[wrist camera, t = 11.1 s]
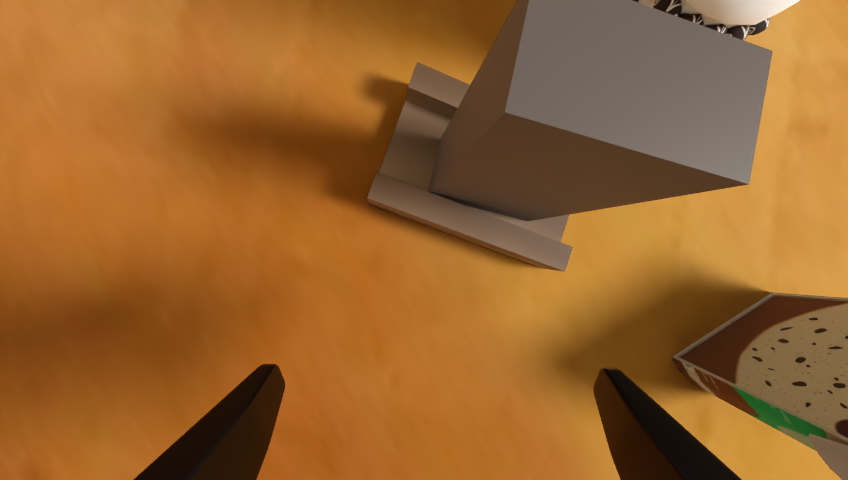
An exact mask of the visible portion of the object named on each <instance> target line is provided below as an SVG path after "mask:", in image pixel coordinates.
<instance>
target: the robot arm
mask: <svg viewBox="0 0 848 480" xmlns="http://www.w3.org/2000/svg"><path fill="white" fill-rule="evenodd" d="M284 390H285V381H284V378H283V376H282V374H281V371H280V369H279V367H278V365H276V364H263V365H261V366H259V367H258V368H257V369H256V370H255V371H254V372H252V373H251V374H250V375H249V376H248V377H247V378H246V379H245V380H244V381H242V382H241V383H240V384H239V385H238V386H237V387H236V388H235V389H234V390H232V391H231V392H230V393H229V394H228V395H227V396H226V397H225V398H224V399H222V400H221V401H220V402H219V403H218V404H217V405H216V406H215V407H214V408H212V409H211V410H210V411H209V412H208V413H207V414H206V415H205V416H204V417H202V418H201V419H200V420H199V421H198V422H197V423H196V424H195V425H194V426H193V427H191V428H190V429H189V430H188V431H187V432H186V433H185V434H184V435H183V436H181V437H180V438H179V439H178V440H177V441H176V442H175V443H174V444H173V445H171V446H170V447H169V448H168V449H167V450H166V451H165V452H164V453H163V454H161V455H160V456H159V457H158V458H157V459H156V460H155V461H154V462H153V463H151V464H150V465H149V466H148V467H147V468H146V469H145V470H144V471H143V472H141V473H140V474H139V475H138V476H137V477H136V478H135V479H134V480H256V479H257V476H258V474H259V471H260V468H261V466H262V463H263V461H264V458H265V455H266V452H267V450H268V447H269V444H270V440H271V437H272V434H273V430H274V426H275V423H276V419H277V415H278V412H279V408H280V404H281V401H282V397H283V393H284ZM594 396H595V399H596V403H597V406H598V410H599V414H600V417H601V421H602V424H603V428H604V431H605V435H606V439H607V442H608V446H609V449H610V452H611V455H612V458H613V461H614V463H615V466H616V469H617V471H618V474H619V476H620V479H621V480H741V479H740V478H739V477H738V476H737V475H736V474H735V473H734V472H733V471H731V470H730V469H729V468H728V467H727V466H726V465H725V464H724V463H723V462H722V461H720V460H719V459H718V458H717V457H716V456H715V455H714V454H713V453H712V452H710V451H709V450H708V449H707V448H706V447H705V446H704V445H703V444H702V443H700V442H699V441H698V440H697V439H696V438H695V437H694V436H693V435H692V434H691V433H689V432H688V431H687V430H686V429H685V428H684V427H683V426H682V425H681V424H679V423H678V422H677V421H676V420H675V419H674V418H673V417H672V416H671V415H670V414H668V413H667V412H666V411H665V410H664V409H663V408H662V407H661V406H660V405H658V404H657V403H656V402H655V401H654V400H653V399H652V398H651V397H650V396H648V395H647V394H646V393H645V392H644V391H643V390H642V389H641V388H640V387H639V386H637V385H636V384H635V383H634V382H633V381H632V380H631V379H630V378H629V377H627V376H626V375H625V374H624V373H623V372H622V371H621V370H619V369H617V368H602V369H600V371H599V374H598V376H597V379H596V381H595V384H594Z"/></svg>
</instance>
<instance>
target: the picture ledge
mask: <svg viewBox="0 0 848 480" xmlns="http://www.w3.org/2000/svg"><path fill="white" fill-rule="evenodd" d="M469 86H470V85H469V84H467V83H464V82H462V81H460V80H457V79H455V78H453V77H450V76H448V75H446V74H444V73H441V72H439V71H437V70H434V69H432V68H430V67H427V66H425V65H423V64H421V63H418V62H417V64H416V67H415V70H414V72H413V75H412V78H411V80H410V83H409V86H408V90H407V96H406V101H405V103H404V106H403V109H402V111H401V114H400V117H399V119H398V122H397V125H396V128H395V130H394V133H393V136H392V138H391V141H390V144H389V146H388V149H387V152H386V155H385V157H384V160H383V163H382V165H381V168H380V171H379V172H376V175H375V177H374V180H373V183H372V186H371V188H370V191H369V194H368V196H367V200H368V203H369V204H370V205H373V206H376V207H378V208H381V209H384V210H387V211H389V212H392V213H395V214H397V215H400V216H403V217H405V218H408V219H411V220H414V221H416V222H419V223H422V224H424V225H427V226H430V227H432V228H435V229H438V230H441V231H443V232H446V233H449V234H451V235H454V236H457V237H459V238H462V239H465V240H468V241H470V242H473V243H476V244H478V245H481V246H484V247H486V248H489V249H492V250H495V251H497V252H500V253H503V254H505V255H508V256H511V257H513V258H516V259H519V260H522V261H524V262H527V263H530V264H532V265H535V266H538V267H540V268H543V269H551V270H558V271H565V269H566V266H567V263H568V260H569V257H570V254H571V251H572V248H573V247H571V246H569V245H566V244H563V243H561V242H560V241H561V238H562V235H563V232H564V229H565V226H566V223H567V219H568V216H569V215H563V216H557V217H551V218H545V219H539V220H533V221H525V220H521V219H517V218H513V217H509V216H505V215H501V214H497V213H493V212H489V211H485V210H481V209H477V208H473V207H469V206H465V205H462V204H459V203H457V202H454V201H452V200H449V199H446V198H444V197H441V196H439V195H436V194H433V193H431V192H428V190H429V186H430V181H431V177H432V172H433V168H434V164H435V159H436V155H437V150H438V146H439V142H440V139H441V137H442V135H443V133H444V131H445V130H446V128H447V126H448V124H449V122H450V121H451V119H452V117H453V115H454V113H455V112H456V110H457V108H458V106H459V104H460V103H461V101H462V99H463V97H464V95H465V94H466V92H467V90H468V88H469Z"/></svg>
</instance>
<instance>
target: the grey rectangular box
mask: <svg viewBox="0 0 848 480" xmlns="http://www.w3.org/2000/svg"><path fill="white" fill-rule="evenodd" d="M771 57H772V51H771V50H768V49H765V48H763V47H760V46H757V45H754V44H751V43H749V42H746V41H743V40H740V39H738V38H735V37H732V36H729V35H727V34H724V33H721V32H718V31H716V30H713V29H710V28H707V27H705V26H702V25H699V24H696V23H693V22H691V21H688V20H685V19H682V18H680V17H677V16H674V15H671V14H669V13H666V12H663V11H660V10H658V9H655V8H652V7H649V6H647V5H644V4H641V3H638V2H636V1H633V0H517V2H516V4H515V6H514V7H513V9H512V11H511V13H510V15H509V16H508V18H507V20H506V22H505V24H504V25H503V27H502V29H501V31H500V33H499V34H498V36H497V38H496V40H495V42H494V43H493V45H492V47H491V49H490V51H489V52H488V54H487V56H486V58H485V60H484V61H483V63H482V65H481V67H480V69H479V70H478V72H477V74H476V76H475V78H474V79H473V81H472V83H471V85H470V86H469V88H468V90H467V92H466V94H465V95H464V97H463V99H462V101H461V103H460V104H459V106H458V108H457V110H456V112H455V113H454V115H453V117H452V119H451V121H450V122H449V124H448V126H447V128H446V130H445V131H444V133H443V135H442V137H441V139H440V142H439V146H438V150H437V155H436V159H435V164H434V168H433V172H432V177H431V181H430V186H429V190H428V192H431V193H433V194H436V195H439V196H441V197H444V198H446V199H449V200H452V201H454V202H457V203H459V204H462V205H465V206H469V207H473V208H477V209H481V210H485V211H489V212H493V213H497V214H501V215H505V216H509V217H513V218H517V219H521V220H525V221H533V220H539V219H545V218H551V217H557V216H563V215H569V214H575V213H581V212H586V211H592V210H598V209H604V208H610V207H616V206H622V205H628V204H634V203H640V202H646V201H652V200H658V199H664V198H670V197H676V196H682V195H688V194H694V193H700V192H706V191H712V190H717V189H723V188H729V187H735V186H741V185H747V184H749V181H750V175H751V170H752V164H753V159H754V153H755V147H756V142H757V136H758V130H759V125H760V119H761V113H762V108H763V102H764V96H765V91H766V85H767V80H768V74H769V68H770V63H771Z"/></svg>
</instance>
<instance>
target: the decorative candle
mask: <svg viewBox="0 0 848 480" xmlns="http://www.w3.org/2000/svg"><path fill="white" fill-rule="evenodd" d="M633 1H636V2H638V3H641V4H644V5H647V6H649V7H652V8H655V9H658V10H660V11H663V12H666V13H669V14H671V15H674V16H677V17H680V18H682V19H685V20H688V21H691V22H693V23H696V24H699V25H702V26H705V27H707V28H710V29H713V30H716V31H718V32H721V33H724V34H727V35H729V36H732V37H735V38H738V39H740V40H744V39H745V38H746V37H747V36H748V35H755V34H758V33H760V32H762V31H764V30H765V29H766V28H767V27H768V25H769V22H770V17H771V16H773V15H775V14H777V13H779V12H781V11H783V10H785V9H786V8H788V7H790V6H791V5H793V4H795V3H797V2H798V1H800V0H633Z"/></svg>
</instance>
